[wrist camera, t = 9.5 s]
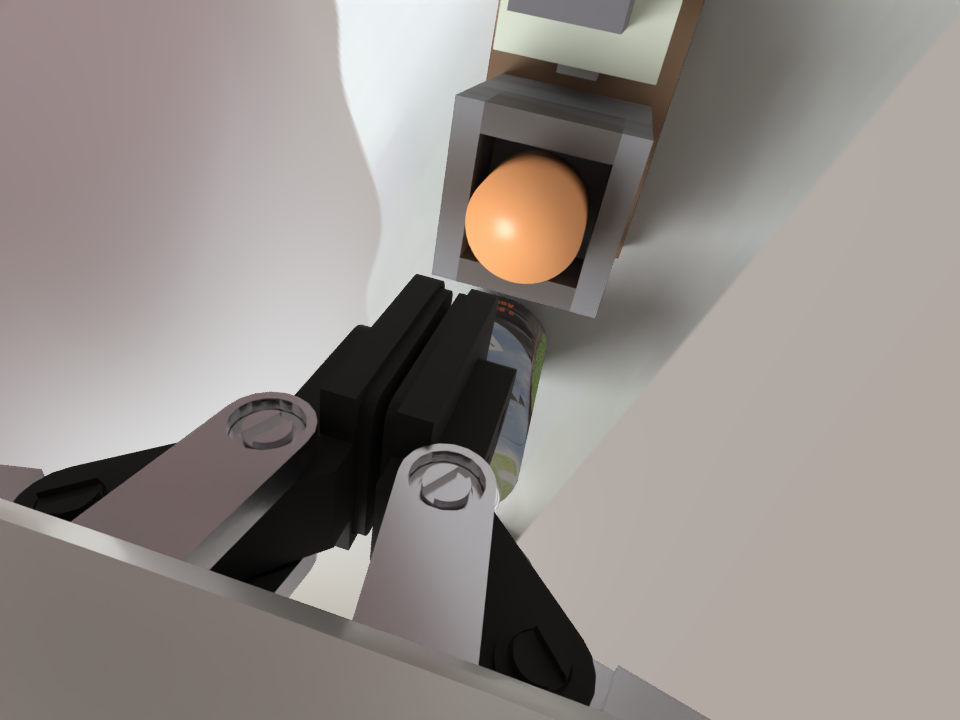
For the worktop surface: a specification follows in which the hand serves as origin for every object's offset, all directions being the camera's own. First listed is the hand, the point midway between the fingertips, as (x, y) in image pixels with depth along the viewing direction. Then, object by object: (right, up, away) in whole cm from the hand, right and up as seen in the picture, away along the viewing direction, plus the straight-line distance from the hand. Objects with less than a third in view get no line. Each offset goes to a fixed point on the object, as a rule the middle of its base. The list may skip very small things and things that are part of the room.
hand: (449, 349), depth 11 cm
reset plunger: (+3, +5, +9) cm, 11 cm away
